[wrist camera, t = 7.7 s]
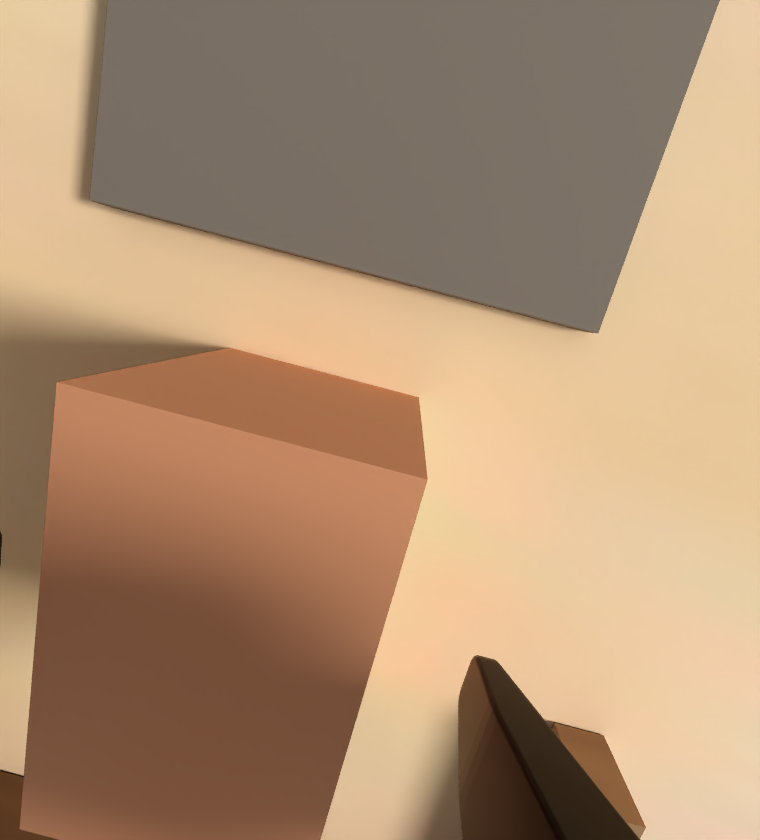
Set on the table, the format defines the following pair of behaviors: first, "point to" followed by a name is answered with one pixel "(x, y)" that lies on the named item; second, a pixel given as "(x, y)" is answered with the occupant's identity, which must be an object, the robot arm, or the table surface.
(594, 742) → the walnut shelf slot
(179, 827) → the terracotta blank
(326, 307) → the table surface
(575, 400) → the table surface
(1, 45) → the table surface
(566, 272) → the charcoal mat
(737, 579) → the table surface
